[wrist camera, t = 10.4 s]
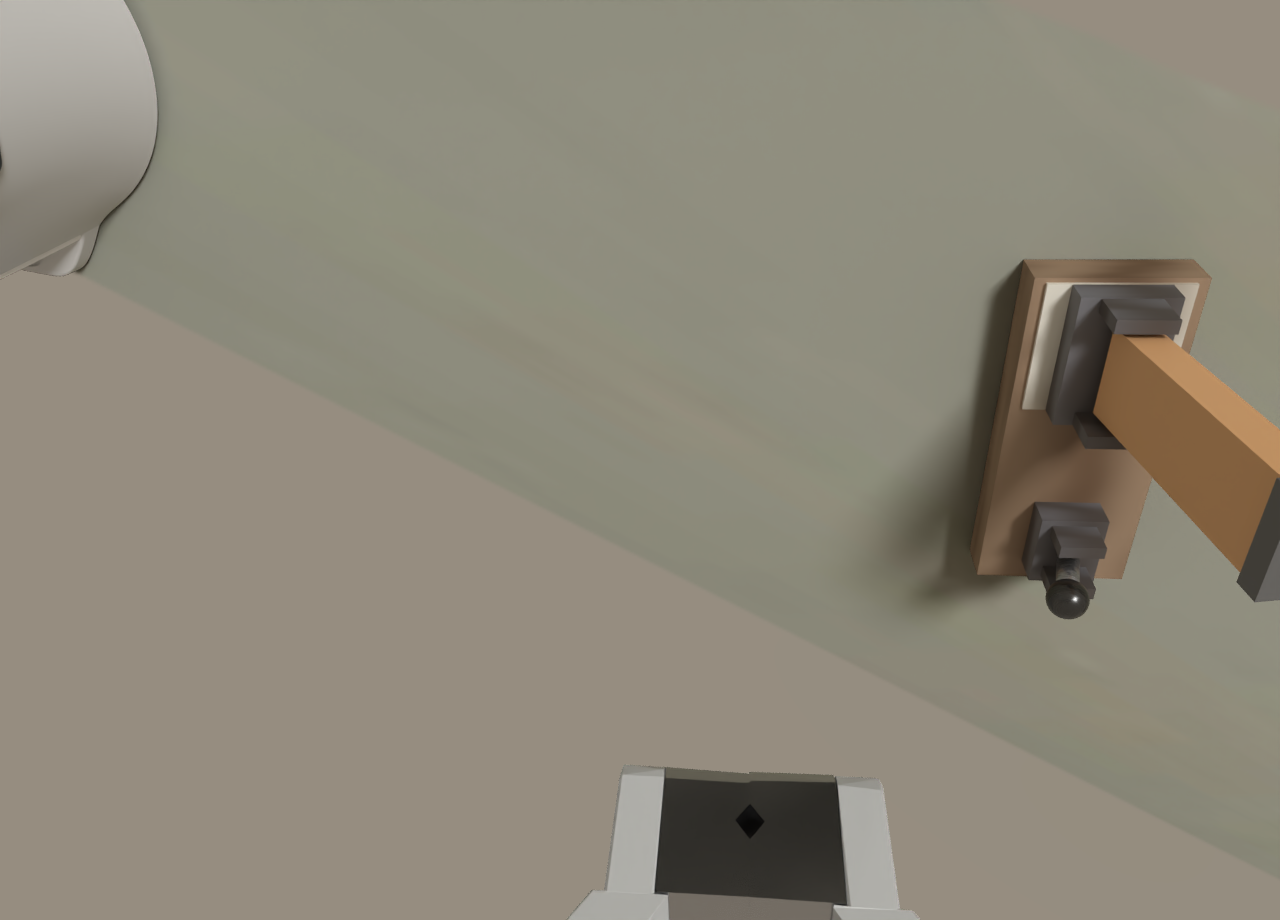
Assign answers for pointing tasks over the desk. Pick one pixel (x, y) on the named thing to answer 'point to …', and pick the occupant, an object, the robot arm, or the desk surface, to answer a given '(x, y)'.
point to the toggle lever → (1067, 590)
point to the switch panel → (1059, 445)
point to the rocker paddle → (1199, 450)
